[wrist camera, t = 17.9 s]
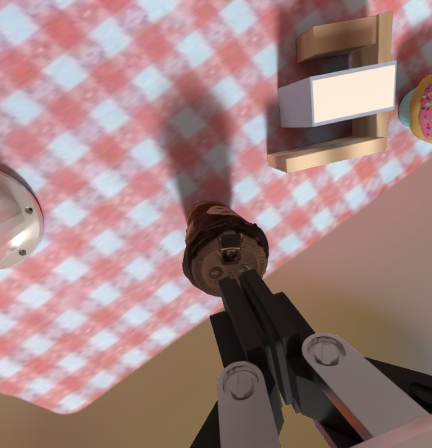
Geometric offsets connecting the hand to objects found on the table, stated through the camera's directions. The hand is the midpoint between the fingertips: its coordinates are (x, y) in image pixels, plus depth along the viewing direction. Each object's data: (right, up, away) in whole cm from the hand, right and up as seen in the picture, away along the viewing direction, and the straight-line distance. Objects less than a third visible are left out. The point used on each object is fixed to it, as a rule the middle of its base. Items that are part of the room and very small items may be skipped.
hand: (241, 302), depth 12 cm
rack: (+10, +19, +22) cm, 31 cm away
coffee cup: (-2, +4, +25) cm, 26 cm away
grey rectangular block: (+11, +19, +22) cm, 31 cm away
